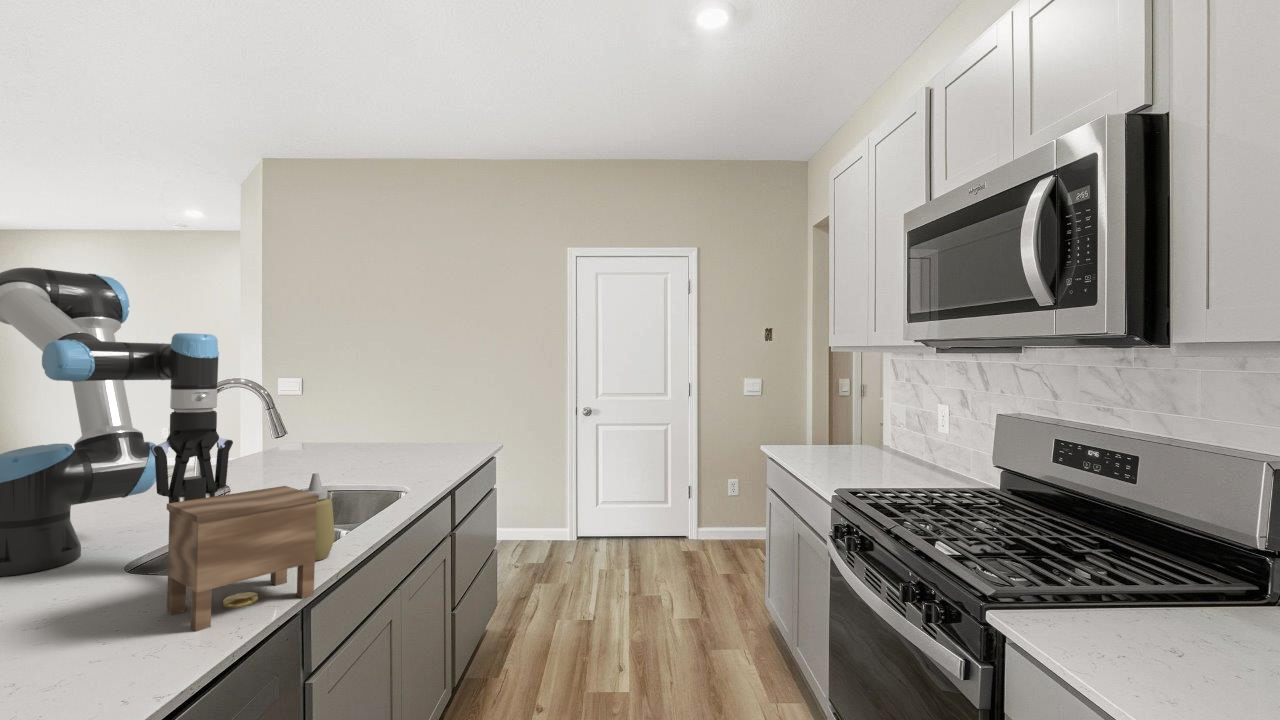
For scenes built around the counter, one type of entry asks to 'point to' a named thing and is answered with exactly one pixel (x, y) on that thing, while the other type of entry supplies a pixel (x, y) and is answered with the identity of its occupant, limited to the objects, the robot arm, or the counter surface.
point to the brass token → (240, 600)
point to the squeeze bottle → (322, 519)
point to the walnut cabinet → (238, 544)
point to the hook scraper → (193, 488)
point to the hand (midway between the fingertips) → (191, 527)
